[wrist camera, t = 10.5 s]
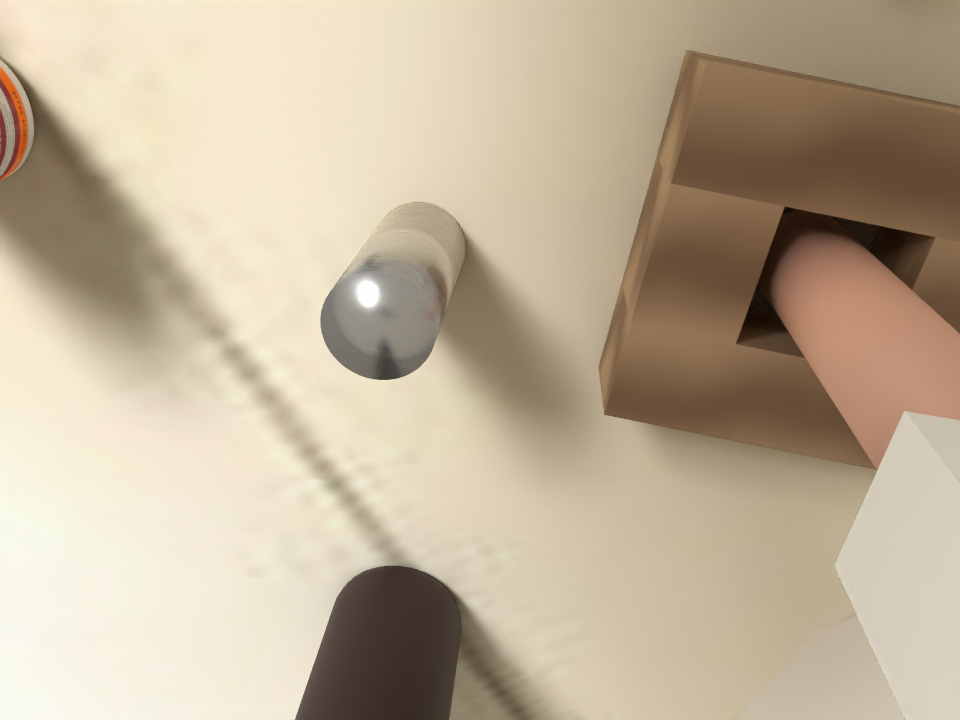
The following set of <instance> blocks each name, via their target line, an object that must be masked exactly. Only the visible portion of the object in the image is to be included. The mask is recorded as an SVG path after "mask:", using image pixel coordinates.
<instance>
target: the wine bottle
mask: <svg viewBox="0 0 960 720" xmlns="http://www.w3.org/2000/svg"><path fill="white" fill-rule="evenodd" d="M460 636H461V618H460V612H459V609H458V606H457V603H456V601H455V599H454V598H453V596H452V594H451V593H450V592H449V591H448V590H447V588H446V587H445V586H444V585H443V584H441V583H440V582H439V581H437V580H436V579H435V578H433V577H431V576H429V575H427V574H425V573H424V572H421V571H418V570H415V569H412V568H406V567H401V566H384V567H377V568H373V569H370V570H367V571H364V572H362V573H360V574H359V575H357V576H355V577H354V578H353V579H352V580H350V581H349V582H348V583H347V584H346V586H345V587H344V588H343V590H342V591H341V592H340V594H339V595H338V597H337V599H336V601H335V604H334V607H333V610H332V613H331V615H330V618H329V621H328V624H327V627H326V630H325V633H324V636H323V639H322V642H321V645H320V648H319V651H318V654H317V657H316V660H315V662H314V665H313V668H312V671H311V674H310V677H309V680H308V683H307V686H306V689H305V692H304V695H303V698H302V701H301V704H300V707H299V709H298V712H297V715H296V718H295V720H449V717H450V709H451V702H452V695H453V687H454V680H455V673H456V665H457V658H458V651H459V643H460Z"/></svg>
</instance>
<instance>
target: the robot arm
mask: <svg viewBox="0 0 960 720" xmlns="http://www.w3.org/2000/svg"><path fill="white" fill-rule="evenodd" d="M834 567H835V569H836V571H837V574H838V576H839V578H840V580H841V582H842V584H843V587H844V589H845V591H846V593H847V595H848V598H849V600H850V602H851V604H852V606H853V608H854V611H855V613H856V615H857V617H858V619H859V621H860V623H861V626H862V628H863V630H864V632H865V634H866V637H867V639H868V641H869V643H870V645H871V647H872V650H873V652H874V654H875V656H876V658H877V660H878V663H879V665H880V667H881V669H882V671H883V673H884V676H885V678H886V680H887V682H888V684H889V686H890V688H891V691H892V693H893V695H894V697H895V699H896V702H897V704H898V706H899V708H900V710H901V712H902V715H903V717H904V719H905V720H960V420H955V419H949V418H943V417H937V416H931V415H925V414H919V413H913V412H907V411H904V413H903V415H902V417H901V419H900V422H899V424H898V426H897V428H896V430H895V433H894V435H893V437H892V439H891V441H890V444H889V446H888V448H887V450H886V452H885V455H884V457H883V459H882V461H881V463H880V466H879V468H878V470H877V472H876V474H875V477H874V479H873V481H872V483H871V486H870V488H869V490H868V492H867V494H866V497H865V499H864V501H863V503H862V505H861V508H860V510H859V512H858V514H857V516H856V519H855V521H854V523H853V525H852V527H851V530H850V532H849V534H848V536H847V538H846V541H845V543H844V545H843V547H842V550H841V552H840V554H839V556H838V558H837V561H836V563H835V565H834Z"/></svg>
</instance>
